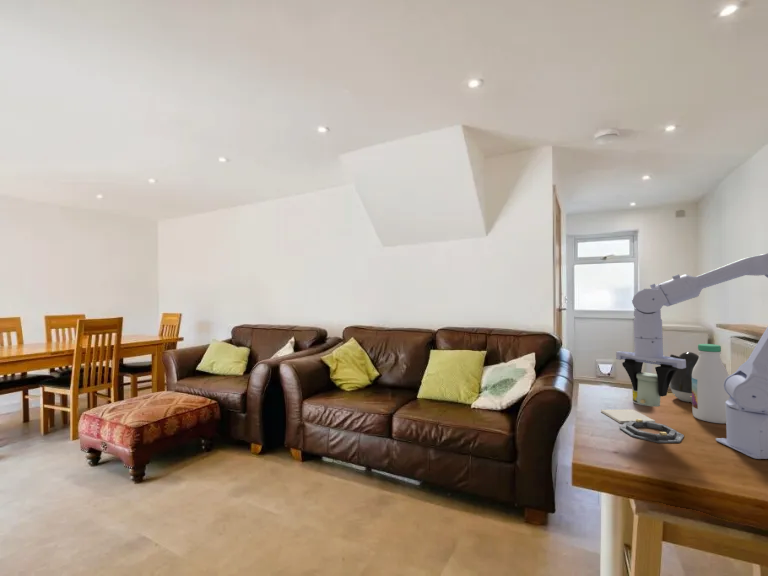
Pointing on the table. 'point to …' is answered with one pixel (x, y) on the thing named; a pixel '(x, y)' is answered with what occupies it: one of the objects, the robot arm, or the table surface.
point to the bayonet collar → (658, 438)
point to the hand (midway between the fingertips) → (649, 392)
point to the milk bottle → (709, 385)
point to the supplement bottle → (635, 397)
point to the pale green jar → (648, 389)
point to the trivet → (626, 415)
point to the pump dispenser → (684, 377)
